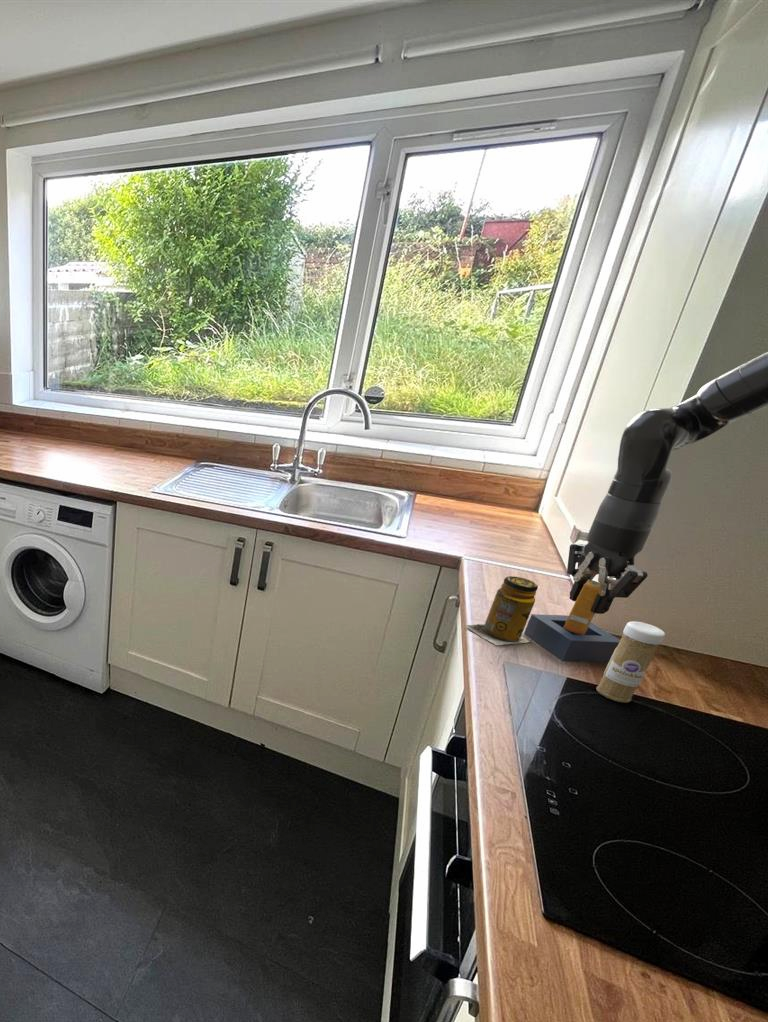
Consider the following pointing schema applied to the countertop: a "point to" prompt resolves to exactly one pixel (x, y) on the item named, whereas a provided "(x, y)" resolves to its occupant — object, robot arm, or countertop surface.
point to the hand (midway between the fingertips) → (586, 606)
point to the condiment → (508, 612)
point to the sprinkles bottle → (630, 661)
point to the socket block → (571, 639)
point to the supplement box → (583, 608)
